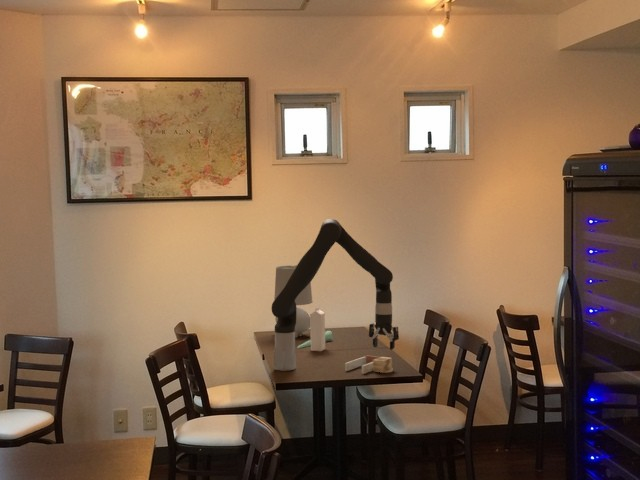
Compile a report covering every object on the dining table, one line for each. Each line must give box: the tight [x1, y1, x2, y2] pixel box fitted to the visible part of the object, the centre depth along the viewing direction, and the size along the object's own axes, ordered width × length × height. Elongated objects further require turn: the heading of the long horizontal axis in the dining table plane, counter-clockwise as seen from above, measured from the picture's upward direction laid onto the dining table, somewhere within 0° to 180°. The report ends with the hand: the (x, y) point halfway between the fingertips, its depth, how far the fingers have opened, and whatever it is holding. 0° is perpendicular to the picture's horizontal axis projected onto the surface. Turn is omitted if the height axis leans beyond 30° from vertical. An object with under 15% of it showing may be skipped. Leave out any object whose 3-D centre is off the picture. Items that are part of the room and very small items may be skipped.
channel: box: [344, 354, 381, 375], centre depth 320 cm, size 17×10×4 cm, turn 142°
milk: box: [309, 306, 326, 352], centre depth 360 cm, size 6×6×22 cm
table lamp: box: [273, 264, 313, 338], centre depth 397 cm, size 23×22×40 cm
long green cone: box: [296, 330, 334, 350], centre depth 375 cm, size 5×6×27 cm
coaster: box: [380, 368, 394, 374], centre depth 315 cm, size 8×8×1 cm
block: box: [373, 356, 393, 374], centre depth 314 cm, size 8×5×5 cm, turn 144°
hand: (383, 348), depth 315 cm, fingers open, 8 cm apart
